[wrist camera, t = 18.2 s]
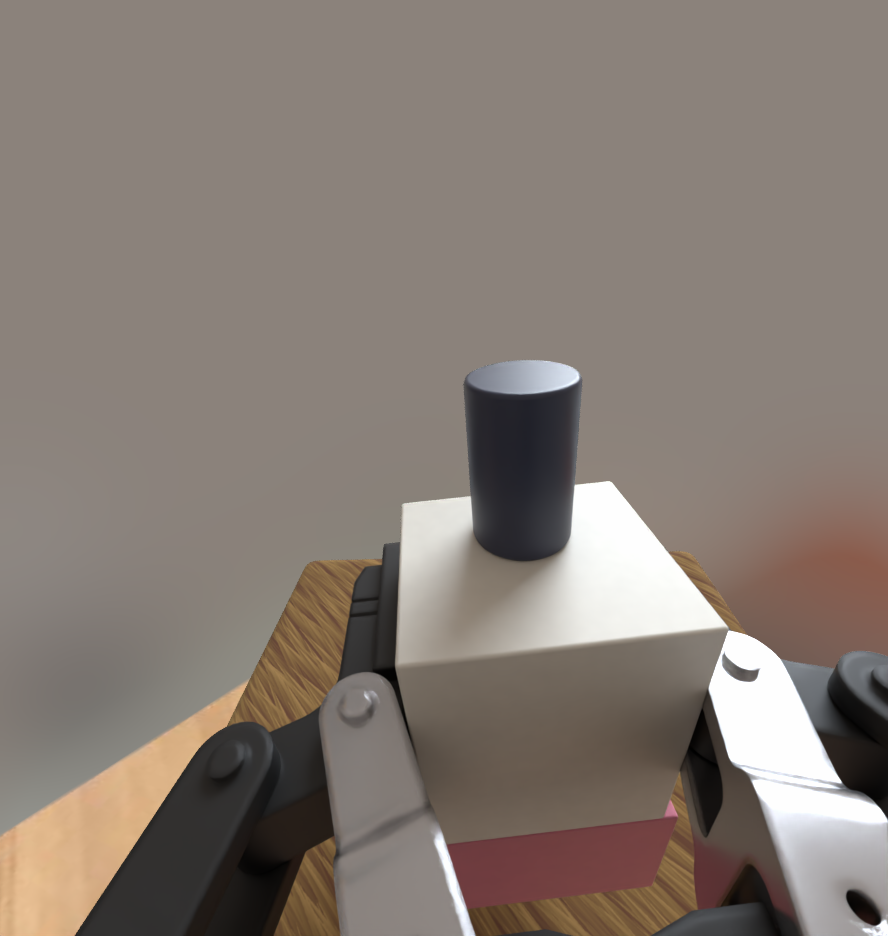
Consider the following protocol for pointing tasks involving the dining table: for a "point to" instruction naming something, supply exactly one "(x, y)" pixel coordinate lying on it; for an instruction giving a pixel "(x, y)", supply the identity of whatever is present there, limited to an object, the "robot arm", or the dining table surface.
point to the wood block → (313, 893)
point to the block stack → (546, 656)
